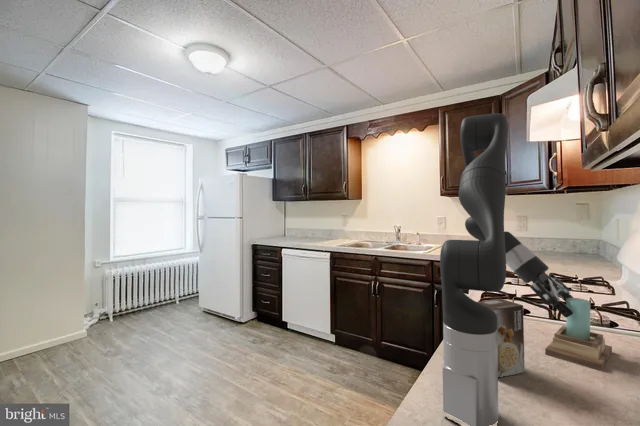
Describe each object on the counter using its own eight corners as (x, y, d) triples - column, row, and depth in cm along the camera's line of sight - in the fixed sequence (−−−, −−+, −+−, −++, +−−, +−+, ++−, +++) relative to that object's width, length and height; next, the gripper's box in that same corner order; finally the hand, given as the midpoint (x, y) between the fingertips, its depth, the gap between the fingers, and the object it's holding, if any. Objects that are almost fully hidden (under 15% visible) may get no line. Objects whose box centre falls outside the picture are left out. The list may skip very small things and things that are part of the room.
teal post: (587, 343, 77) (588, 304, 77) (564, 337, 81) (564, 300, 80) (591, 338, 80) (592, 300, 80) (568, 332, 84) (568, 296, 83)
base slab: (601, 371, 72) (601, 349, 72) (545, 354, 80) (545, 335, 80) (611, 352, 81) (611, 333, 80) (560, 338, 89) (560, 321, 89)
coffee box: (502, 360, 78) (501, 297, 77) (525, 373, 72) (524, 305, 71) (472, 365, 75) (471, 301, 75) (493, 379, 69) (492, 309, 69)
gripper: (525, 258, 83) (580, 310, 74) (542, 252, 92) (593, 298, 83) (504, 274, 87) (554, 325, 79) (522, 267, 96) (569, 312, 87)
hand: (574, 311), depth 81 cm, fingers open, 8 cm apart
